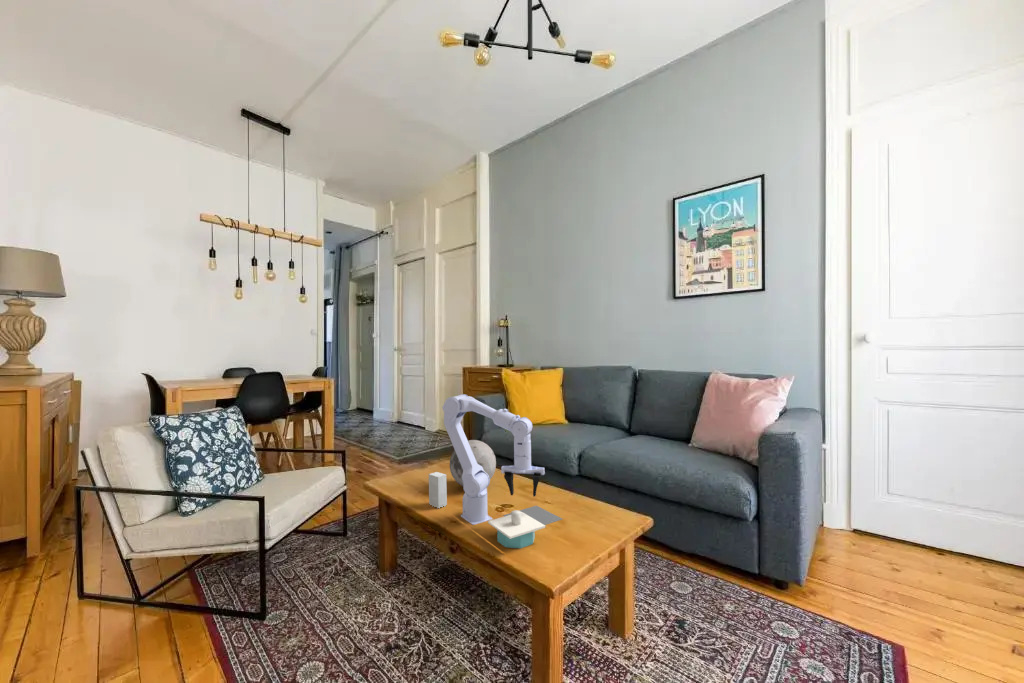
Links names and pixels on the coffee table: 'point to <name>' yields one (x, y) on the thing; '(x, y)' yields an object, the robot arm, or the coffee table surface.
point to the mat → (540, 515)
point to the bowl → (516, 540)
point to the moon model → (482, 457)
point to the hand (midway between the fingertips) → (523, 494)
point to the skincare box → (437, 489)
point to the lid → (516, 524)
